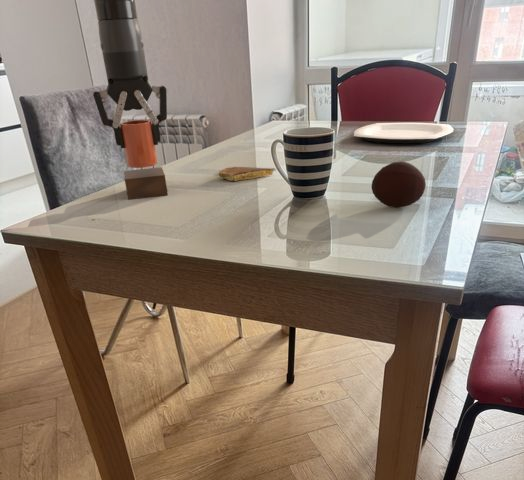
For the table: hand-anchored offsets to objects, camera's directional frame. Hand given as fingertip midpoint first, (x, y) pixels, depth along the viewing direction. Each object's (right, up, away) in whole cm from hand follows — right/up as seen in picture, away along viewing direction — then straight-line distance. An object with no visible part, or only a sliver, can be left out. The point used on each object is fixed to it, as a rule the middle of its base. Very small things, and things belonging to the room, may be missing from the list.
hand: (139, 145), depth 102 cm
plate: (+65, +20, +43) cm, 80 cm away
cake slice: (+21, -2, +13) cm, 24 cm away
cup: (0, -3, +2) cm, 4 cm away
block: (0, -8, +5) cm, 9 cm away
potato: (+48, -16, -12) cm, 53 cm away
